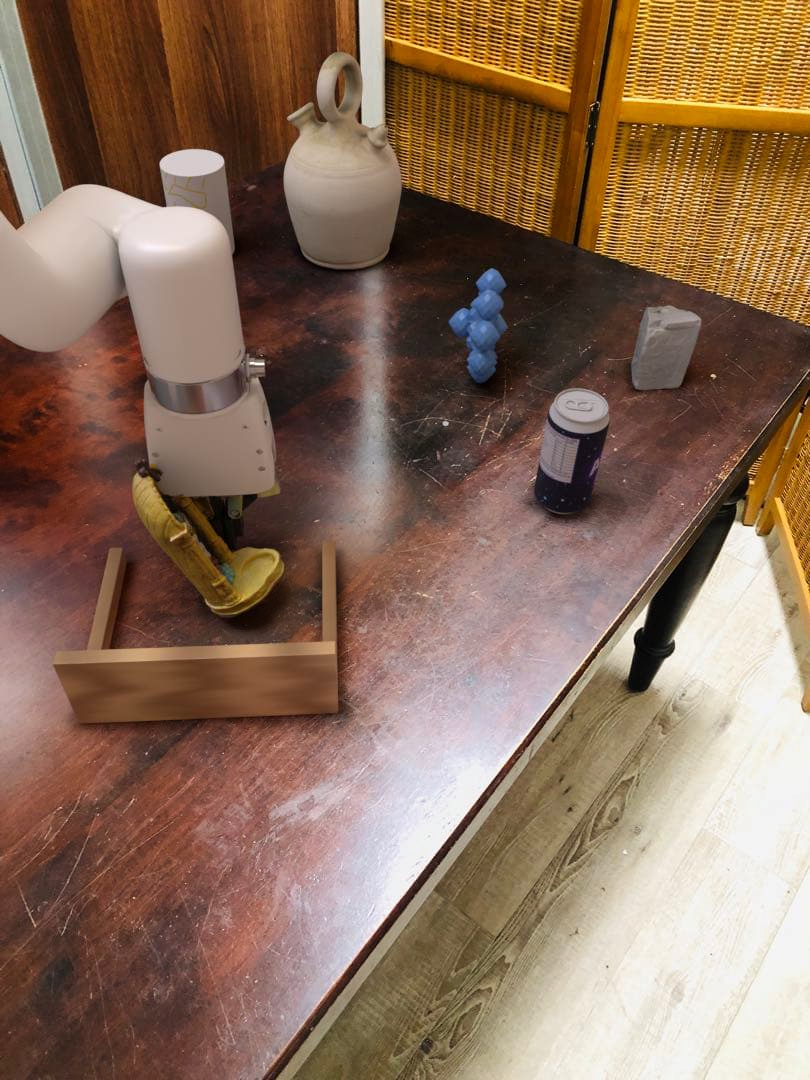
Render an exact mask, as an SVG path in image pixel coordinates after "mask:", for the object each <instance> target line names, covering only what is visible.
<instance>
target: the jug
mask: <svg viewBox="0 0 810 1080" xmlns="http://www.w3.org/2000/svg"><path fill="white" fill-rule="evenodd" d="M341 71H342V72H343V76H344V87H345V88H344V94H343V98H342V101H341V103H340V105H339V106H338V107H337V105H336V100H335V99H336V98H335V90H336V84H337V80H338V77H339V74H340V72H341ZM363 79H364V78H363V74H362V70H361V67H360V64H359V63H358V61H357V60H356V58H354V56H352V55H351V54H349V53H348V52H343V51H336V52H333V53H331V54H330V55H329V56H328V57H327V58H326V59H325V60H324V62H323V63H322V65H321V67H320V70H319V73H318V77H317V83H316V100H317V105H318V108H319V111H320V113H321V114H322V116H323V118H325V119H326V120H327V121H326V122H322V121H319V120H318V119H317V116H316V112H315V104H314V103H313V102H308V103H307V104H305V105H304V106H302V107H300V108H299V109H297V110H296V111H295V112H293V113H291V114H290V115H288V116H287V118H286V120H287V122H289V123H290V124H292V125H293V126H294V127H295V128H297V129H298V131H299V136H298V138H297V140H296V141H295V142H294V144H293V145H292V147H291V148H290V151H289V153H288V155H287V159H286V162H285V165H284V171H283V189H284V195H285V201H286V203H287V209H288V213H289V216H290V221H291V223H292V226H293V229H294V232H295V236H296V239H297V243H298V244H299V247H300V250H301V253H302V255H303V256H304V258H305V259H306V260H308V261H309V262H311V263H313V264H314V265H317V266H319V267H322V268H326V269H331V270H339V271H340V270H347V271H348V270H359V269H360V270H361V269H365V268H368V267H372V266H374V265H377V264H379V263H380V262H381V261H383V260H384V259H385V258H386V256H387V255H388V253H389V251H390V244H391V242H392V239H393V236H394V232H395V227H396V222H397V218H398V212H399V208H400V202H401V196H402V187H403V183H402V174H401V168H400V165H399V162H398V159H397V156H396V153H395V152H394V149H393V147H392V146H391V145H390V143H389V138H388V134H389V128H388V126H387V125H386V124H385V123H380V124H378V125H376V126H375V127H369V126H367V125H366V124H365V125H364V124H363V123H359V122H358V120H357V117H356V114H357V113H358V111H359V109H360V106H361V103H362V98H363V91H364V80H363Z"/></svg>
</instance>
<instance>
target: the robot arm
mask: <svg viewBox="0 0 810 1080" xmlns="http://www.w3.org/2000/svg"><path fill="white" fill-rule="evenodd" d="M126 297H128V300H129V304H130V308H131V312H132V313H131V314H132V316H133V321H134V325H135V329H136V333H137V338H138V342H139V346H140V351H141V355H142V359H143V364H144V368H145V372H146V377H147V380H146V382H145V384H144V386H143V387H144V389H143V420H144V421H143V423H144V432H145V433H144V434H145V442H146V449H147V455H148V456H147V457H148V464H149V465H151V464H155V466H156V467H157V468H158V469H159V470H160V471H161V472H160V473H162V474H161V475H162V476H160V475H158V474H157V475H158V476H160V478H161V480H160V481H159V482H156V481H155V480H154V482H155V485H156V488H157V490H158V491H159V492H161V493H162V494H165V495H167V494H168V495H169V496H177V495H180V494H184V495H183V496H182V497H191V498H193V499H192V501H193V502H194V504H195V505H196V506H197V507H198V508H199V509H200V511H201V512H202V514H203V515H204V516H205V517H206V519H207V520H208V522H209V523H210V525H211V526H212V528H213V529H214V531H215V532H216V534H217V535H218V536H219V537H221V538H222V539H223V541H224V542H225V543H226V544H227V546H228V549H229V550H230V551H237V548H238V538H243V537H244V536H245V523H244V515H243V512H244V511H245V510H246V509H247V508H248V507H250V506H251V505H252V504H253V503H254V502H255V501H257V499H258V498H261V499H262V498H267V497H271V496H276V495H279V494H280V493H281V492H282V479H281V476H280V475H279V473H278V469H277V468H276V465H275V463H277V462H276V461H277V449H276V448H277V447H276V440H275V434H274V429H273V424H272V418H271V414H270V410H269V406H268V402H267V399H266V395H265V393H264V388H263V387H262V384H261V382H260V379H259V378H261V377H262V378H263V377H265V378H266V377H267V363H266V359H265V358H261V359H258V358H256V357H251V354H250V353H247V345H246V344H245V343H244V342H245V341H244V335H243V328H242V327H243V326H242V319H241V312H240V305H239V297H238V291H237V282H236V276H235V268H234V261H233V254H232V252H231V246H230V241H229V237H228V234H227V232H226V229H225V228H224V226H223V225H222V223H221V222H220V221H219V220H218V219H217V218H216V217H214V216H213V215H211V214H209V213H207V212H205V211H203V210H200V209H196V208H191V207H180V206H174V207H167V206H164V207H163V206H159V205H156V204H153V203H150V202H147V201H145V200H142V199H140V198H137V197H135V196H132V195H129V194H127V193H124V192H122V191H119V190H117V189H114V188H111V187H107V186H104V185H99V184H91V183H87V184H86V183H84V184H78V185H74V186H72V187H69V188H67V189H65V190H64V191H62V192H60V194H58V195H57V196H56V197H54V198H53V199H52V200H51V201H50V202H49V203H47V204H46V205H45V206H44V207H43V208H42V209H41V210H39V211H38V212H36V213H35V214H34V215H33V216H31V217H30V218H29V219H28V220H27V221H25V222H24V223H23V224H21V226H20V227H19V228H17V229H16V228H15V227H14V226H13V225H12V224H11V222H10V221H9V220H8V219H7V217H6V216H5V214H4V213H3V212H2V211H1V210H0V335H1V336H2V337H3V338H5V339H7V340H8V341H10V342H12V343H13V344H15V345H17V346H19V347H21V348H24V349H27V350H28V351H29V350H30V351H33V352H39V353H56V352H58V351H61V350H65V349H68V348H70V347H71V346H73V345H75V344H76V343H78V342H79V341H80V340H81V339H82V338H84V337H85V335H86V334H87V333H88V332H89V331H90V330H91V329H92V328H93V327H94V326H95V325H96V324H97V323H98V322H99V320H101V318H102V317H103V316H104V315H105V314H106V313H107V312H108V311H109V310H110V309H111V307H112V306H113V305H114V304H115V303H116V302H118V301H119V300H122V299H123V298H126ZM222 496H223V497H224V496H226V498H225V499H223V498H222Z"/></svg>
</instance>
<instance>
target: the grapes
mask: <svg viewBox="0 0 810 1080" xmlns="http://www.w3.org/2000/svg"><path fill="white" fill-rule="evenodd" d="M475 284H476V287H477V289H478V290H479V292H478V293H477V295H478V296H477V297H476V298H474V299H473V301H472V302H471V303H470V304H469V305H470V307H471V308H470V309H467V308H466V307H462V308H461V309H459V310H457V311H456V312H455V313H454V314H453V315H452V317H450V319H449V320H448V324H449V326H450V328H451V330H452V331H453V333H454V334H455V336H456V337H457V338H460V339H465V338H466V339H465V341H466V343H465V345H466V346H467V348H468V350H469V351H470V352H469V354H468V357H467V359H466V362H467V366H466V369H467V371H468V373H469V374H470V376H471V378H472V379H473V381H474V382H476V383H478V384H483V383H485V382H486V381H488V380H489V379H490V378H491V377H492V376H493V375H494V373H495V372H496V371H497V369H496V365H497V363H498V361H497V359H498V355H497V354H496V351H495V349H496V343H497V342H498V341H499V340H500V338H501V336H503V334H504V333H505V332H506V331H507V330H508V328H509V327H508V325H507V323H506V321H505V319H504V318H503V316H502V315H501V313H500V312H501V311H502V309H503V308H505V307H504V304H505V302H504V301H503V299H502V296H501V293H502V292H503V291H504V290H505V288H506V287H507V283H506V282H505V279H504V278H503V276H502V274H501V273H500V272H499V270H497V269H495V268H492V267H491V268H490V269H487V271H485V272H483V274H482V275H481V276H480V277H479V278H478V279H477V281H476V282H475Z"/></svg>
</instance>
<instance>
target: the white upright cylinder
mask: <svg viewBox="0 0 810 1080" xmlns="http://www.w3.org/2000/svg"><path fill="white" fill-rule="evenodd" d="M159 169H160V175H161V181H162V186H163V193H164V198H165V204H166V207H174V206H180V207H191V208H196V209H200V210H203V211H205V212H207V213H209V214H211V215H213V216H214V217H216V218H217V219H218V220H219V221H220V222H221V223H222V225H223V226H224V228H225V229H226V232H227V234H228V237H229V241H230V246H231V252H232V255H233V254H234V253H235V249H236V245H235V239H234V230H233V221H232V214H231V206H230V198H229V188H228V181H227V173H226V172H227V171H226V164H225V159H224V157H223V156H222V155H221V154H219V153H217V152H215V151H212V150H208V149H200V148H191V149H189V148H188V149H182V150H177V151H173V152H171V153H168V154H167V155H165V156H164V157H162V158H161V160H160V161H159Z"/></svg>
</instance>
